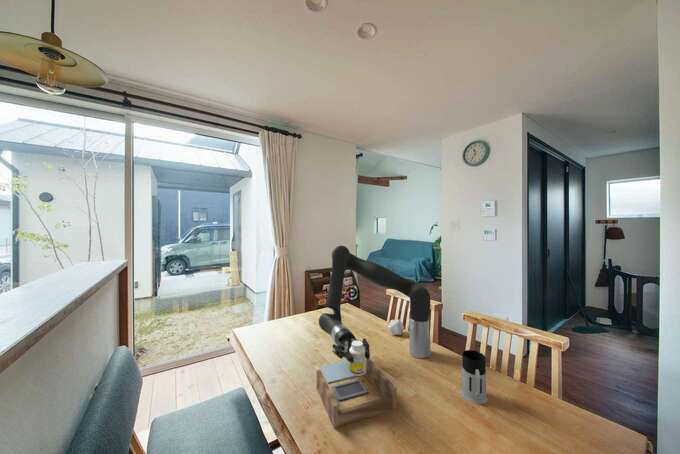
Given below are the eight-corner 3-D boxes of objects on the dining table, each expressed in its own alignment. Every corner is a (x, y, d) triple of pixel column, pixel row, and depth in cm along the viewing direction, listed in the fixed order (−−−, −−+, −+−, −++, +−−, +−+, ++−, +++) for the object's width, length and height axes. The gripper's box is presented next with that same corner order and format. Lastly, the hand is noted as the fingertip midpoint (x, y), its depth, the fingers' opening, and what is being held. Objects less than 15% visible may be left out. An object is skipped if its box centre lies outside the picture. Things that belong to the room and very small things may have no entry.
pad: (319, 367, 112) (319, 366, 112) (347, 361, 116) (347, 360, 116) (328, 383, 101) (328, 382, 100) (357, 375, 105) (357, 374, 105)
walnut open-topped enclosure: (316, 388, 98) (316, 370, 98) (369, 374, 106) (369, 358, 106) (333, 428, 79) (333, 406, 78) (396, 408, 87) (396, 388, 86)
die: (400, 340, 137) (408, 323, 140) (386, 331, 139) (394, 315, 141) (397, 338, 145) (404, 323, 148) (384, 330, 146) (391, 315, 149)
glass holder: (484, 390, 95) (484, 351, 95) (494, 418, 82) (494, 372, 81) (459, 385, 98) (459, 347, 97) (464, 412, 84) (464, 368, 84)
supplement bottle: (356, 365, 93) (355, 337, 92) (368, 370, 89) (368, 342, 89) (346, 372, 89) (346, 343, 88) (359, 378, 85) (359, 348, 85)
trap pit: (331, 387, 98) (331, 386, 98) (359, 380, 102) (359, 379, 102) (338, 401, 90) (338, 399, 90) (368, 393, 95) (368, 391, 95)
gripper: (325, 330, 99) (340, 351, 84) (358, 325, 104) (378, 343, 89) (326, 349, 100) (341, 374, 84) (359, 342, 105) (379, 364, 89)
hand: (360, 358), depth 86 cm, fingers closed on supplement bottle, 5 cm apart
